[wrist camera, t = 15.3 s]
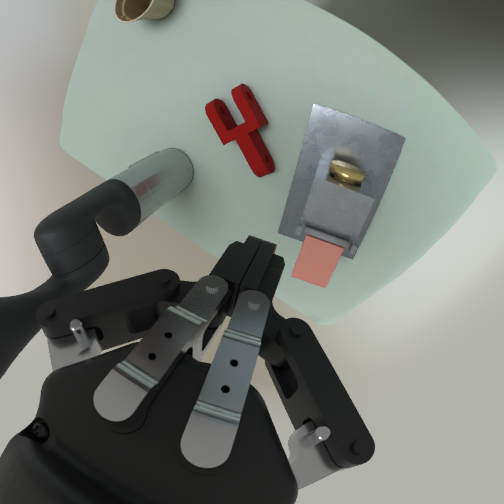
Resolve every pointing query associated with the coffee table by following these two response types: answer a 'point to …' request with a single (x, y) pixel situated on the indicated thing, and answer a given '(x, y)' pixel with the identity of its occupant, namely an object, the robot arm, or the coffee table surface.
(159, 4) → the flower pot
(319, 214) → the latch base plate
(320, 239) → the latch flap
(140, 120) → the coffee table surface
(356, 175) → the brass pin
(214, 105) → the mechanical linkage
